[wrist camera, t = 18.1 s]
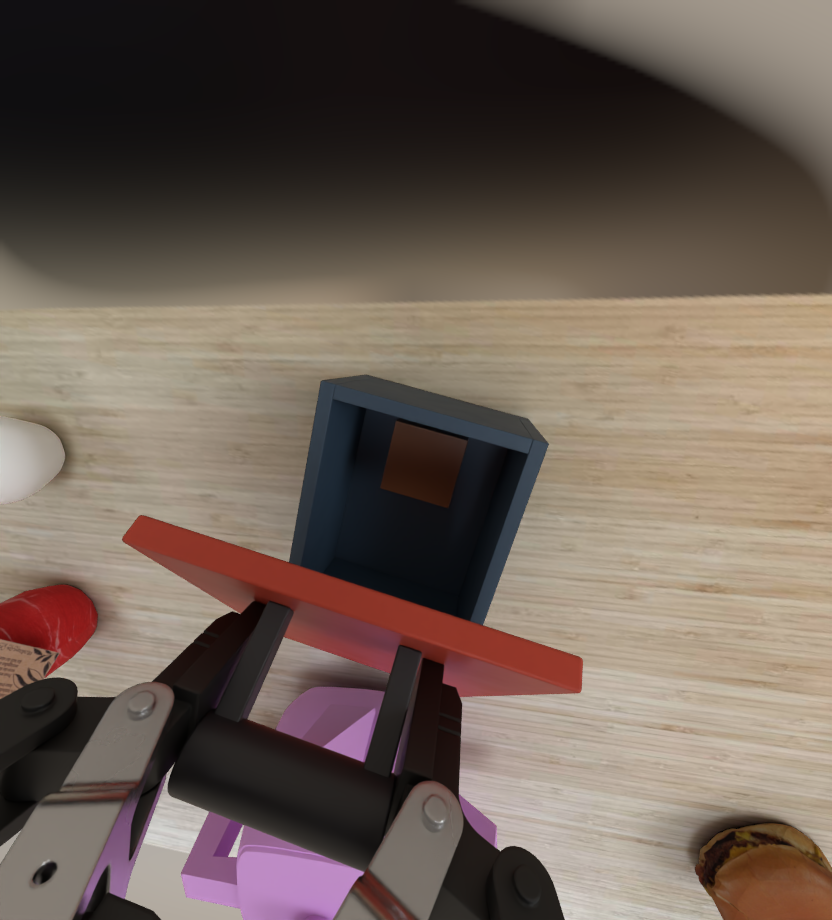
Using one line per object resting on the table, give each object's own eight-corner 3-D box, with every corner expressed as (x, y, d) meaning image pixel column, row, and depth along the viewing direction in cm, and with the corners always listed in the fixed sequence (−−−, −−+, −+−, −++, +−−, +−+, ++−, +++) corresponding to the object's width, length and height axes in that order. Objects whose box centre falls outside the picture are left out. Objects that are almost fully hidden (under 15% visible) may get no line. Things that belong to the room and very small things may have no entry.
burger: (846, 847, 31) (906, 928, 27) (772, 908, 34) (816, 991, 30) (730, 793, 32) (771, 864, 27) (667, 858, 35) (695, 931, 30)
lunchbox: (365, 374, 28) (320, 380, 20) (528, 419, 27) (549, 443, 19) (327, 557, 32) (278, 621, 24) (466, 601, 31) (461, 683, 23)
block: (408, 410, 27) (395, 420, 23) (470, 427, 27) (468, 440, 23) (394, 469, 29) (379, 488, 24) (452, 485, 28) (448, 508, 24)
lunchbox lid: (138, 512, 10) (-44, 753, 8) (585, 657, 9) (569, 1000, 6) (277, 619, 24) (232, 718, 21) (462, 682, 23) (440, 795, 20)
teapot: (359, 616, 33) (267, 813, 19) (516, 745, 34) (542, 1028, 20) (248, 728, 39) (113, 946, 25) (385, 837, 40) (331, 1109, 25)
